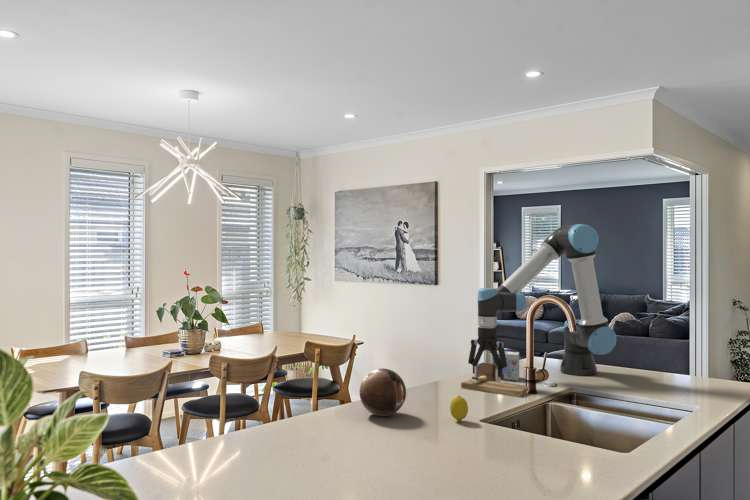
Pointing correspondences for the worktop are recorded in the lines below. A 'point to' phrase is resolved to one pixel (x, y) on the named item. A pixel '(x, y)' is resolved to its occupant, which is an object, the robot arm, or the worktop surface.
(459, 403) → the lemon
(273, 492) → the worktop surface
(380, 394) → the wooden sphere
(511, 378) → the light bulb box
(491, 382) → the board
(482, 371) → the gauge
